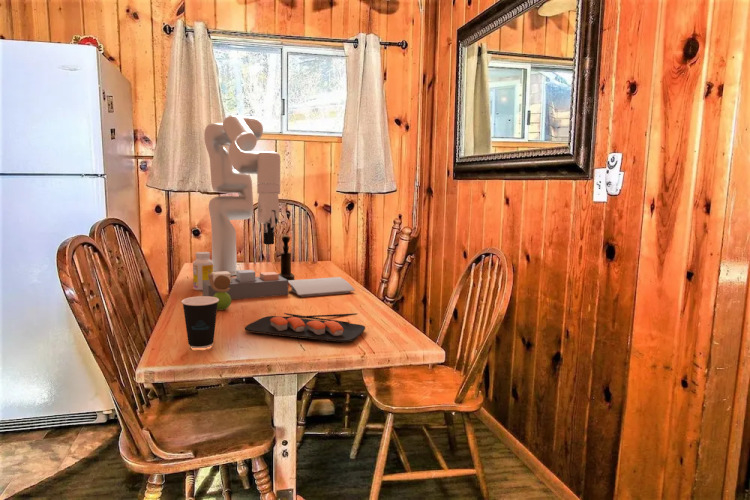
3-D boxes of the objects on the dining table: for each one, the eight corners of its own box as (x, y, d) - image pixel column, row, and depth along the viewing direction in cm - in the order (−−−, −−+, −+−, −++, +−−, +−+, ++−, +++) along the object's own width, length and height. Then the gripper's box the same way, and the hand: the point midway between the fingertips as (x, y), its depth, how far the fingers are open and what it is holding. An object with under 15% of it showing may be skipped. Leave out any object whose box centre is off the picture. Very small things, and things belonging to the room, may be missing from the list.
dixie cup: (205, 339, 120) (205, 294, 118) (226, 346, 115) (226, 299, 114) (175, 347, 113) (174, 300, 112) (196, 355, 109) (195, 305, 107)
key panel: (202, 295, 167) (202, 280, 166) (278, 289, 179) (278, 275, 179) (208, 301, 158) (208, 285, 157) (288, 294, 171) (288, 280, 170)
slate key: (236, 282, 169) (236, 270, 169) (251, 281, 172) (251, 269, 171) (240, 285, 165) (240, 273, 164) (255, 284, 167) (255, 272, 167)
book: (281, 290, 179) (281, 279, 179) (340, 286, 190) (340, 276, 189) (294, 299, 166) (294, 288, 165) (357, 294, 176) (358, 283, 176)
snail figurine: (209, 308, 150) (208, 268, 148) (231, 307, 152) (231, 267, 150) (207, 312, 145) (207, 271, 143) (231, 311, 146) (230, 270, 145)
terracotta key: (260, 284, 173) (260, 272, 173) (274, 283, 175) (274, 271, 175) (264, 286, 169) (264, 275, 168) (278, 285, 171) (278, 274, 171)
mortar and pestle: (282, 279, 198) (282, 233, 196) (297, 280, 196) (297, 234, 194) (274, 282, 192) (274, 235, 190) (289, 283, 190) (289, 236, 187)
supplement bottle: (216, 287, 179) (216, 251, 178) (208, 291, 173) (208, 254, 171) (198, 286, 180) (197, 251, 178) (190, 290, 173) (189, 253, 172)
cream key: (211, 284, 165) (211, 272, 165) (227, 282, 168) (227, 271, 167) (215, 286, 161) (214, 274, 160) (230, 285, 163) (230, 273, 163)
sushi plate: (239, 336, 125) (239, 321, 124) (290, 308, 153) (291, 296, 153) (351, 349, 117) (351, 333, 117) (383, 317, 146) (383, 304, 146)
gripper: (251, 188, 173) (251, 242, 175) (264, 189, 160) (264, 247, 162) (272, 189, 176) (272, 241, 179) (287, 190, 163) (286, 246, 166)
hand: (268, 244), depth 170 cm, fingers closed
